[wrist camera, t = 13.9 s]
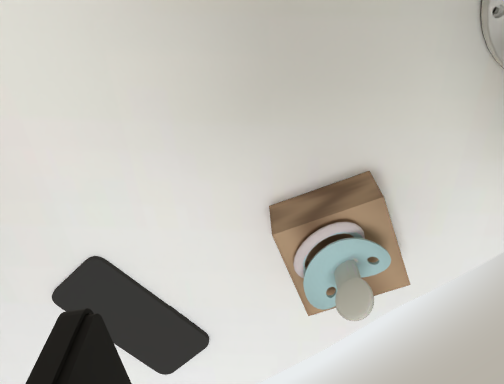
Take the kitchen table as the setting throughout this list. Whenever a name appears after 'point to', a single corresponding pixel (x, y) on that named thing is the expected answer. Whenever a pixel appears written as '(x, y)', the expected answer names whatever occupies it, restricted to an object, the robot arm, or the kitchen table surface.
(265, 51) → the kitchen table surface
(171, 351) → the phone
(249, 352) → the kitchen table surface
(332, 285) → the pacifier
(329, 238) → the block
